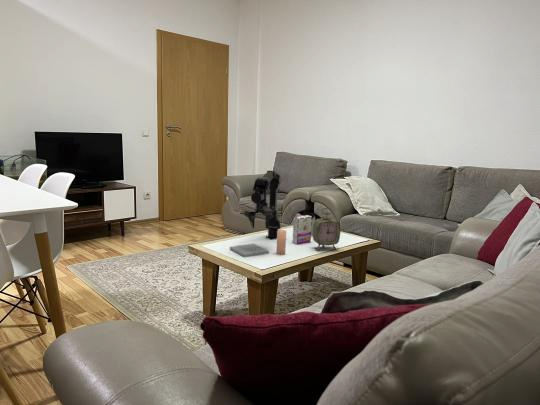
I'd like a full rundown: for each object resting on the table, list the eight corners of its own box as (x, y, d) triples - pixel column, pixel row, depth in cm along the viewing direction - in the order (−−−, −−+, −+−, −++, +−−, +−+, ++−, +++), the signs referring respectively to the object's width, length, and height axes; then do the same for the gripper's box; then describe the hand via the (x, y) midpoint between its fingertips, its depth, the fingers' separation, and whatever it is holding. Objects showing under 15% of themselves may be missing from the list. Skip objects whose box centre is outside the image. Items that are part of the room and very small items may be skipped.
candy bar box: (305, 240, 273) (307, 214, 270) (310, 242, 269) (312, 216, 266) (291, 242, 266) (293, 216, 263) (297, 244, 262) (298, 218, 259)
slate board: (229, 249, 246) (229, 246, 246) (253, 246, 255) (253, 243, 255) (244, 257, 233) (244, 254, 233) (268, 253, 242) (269, 250, 242)
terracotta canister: (274, 252, 244) (275, 230, 241) (281, 251, 247) (282, 229, 244) (279, 255, 240) (280, 232, 237) (286, 254, 243) (288, 231, 240)
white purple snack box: (312, 237, 281) (314, 214, 279) (291, 234, 286) (293, 212, 283) (315, 234, 290) (317, 212, 287) (295, 231, 294) (296, 209, 291)
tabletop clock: (316, 251, 250) (318, 209, 245) (310, 247, 258) (312, 206, 254) (339, 250, 254) (342, 208, 249) (332, 246, 262) (335, 205, 258)
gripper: (254, 203, 232) (253, 232, 235) (283, 202, 243) (281, 229, 245) (244, 200, 241) (243, 227, 244) (272, 198, 252) (270, 225, 254)
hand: (260, 227), depth 247 cm, fingers open, 9 cm apart
